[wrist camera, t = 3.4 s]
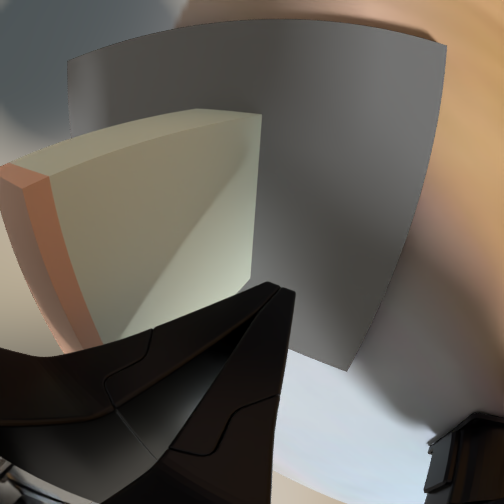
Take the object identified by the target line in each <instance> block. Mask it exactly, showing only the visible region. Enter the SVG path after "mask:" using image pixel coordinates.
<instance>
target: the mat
mask: <svg viewBox="0 0 504 504" xmlns="http://www.w3.org/2000/svg"><path fill="white" fill-rule="evenodd" d="M446 52H447V46H446V45H443V44H440V43H437V42H434V41H430V40H427V39H423V38H420V37H416V36H412V35H408V34H404V33H400V32H395V31H391V30H386V29H381V28H375V27H369V26H363V25H356V24H349V23H341V22H331V21H319V20H301V19H258V20H240V21H227V22H218V23H209V24H202V25H195V26H188V27H182V28H177V29H172V30H167V31H162V32H157V33H153V34H149V35H145V36H141V37H137V38H133V39H129V40H126V41H122V42H119V43H116V44H113V45H110V46H107V47H103V48H101V49H97V50H95V51H92V52H89V53H87V54H84V55H81V56H79V57H76V58H73V59H71V60H69V61H67V62H68V64H67V66H68V68H67V70H68V71H67V74H68V75H67V76H68V105H69V119H70V130H71V138H74V137H77V136H80V135H83V134H87V133H90V132H93V131H97V130H100V129H104V128H107V127H111V126H115V125H119V124H122V123H126V122H131V121H135V120H139V119H143V118H148V117H153V116H158V115H162V114H168V113H173V112H179V111H184V110H190V109H213V110H225V111H236V112H245V113H254V114H262V123H261V136H260V150H259V164H258V178H257V192H256V206H255V220H254V233H253V247H252V261H251V275H250V279H249V280H248V281H247V283H246V284H245V285H244V286H243V287H242V288H241V289H240V290H239V291H238V292H237V293H240V292H242V291H245V290H247V289H249V288H252V287H254V286H256V285H259V284H261V283H263V282H266V281H269V282H272V283H275V284H277V285H279V286H280V287H281V288H282V287H285V288H288V289H290V290H293V291H295V292H296V298H295V306H294V313H293V320H292V327H291V334H290V340H289V347H288V349H291V350H293V351H295V352H298V353H300V354H303V355H305V356H308V357H310V358H313V359H315V360H318V361H320V362H323V363H325V364H328V365H330V366H333V367H336V368H338V369H341V370H344V371H346V372H347V371H348V369H349V367H350V365H351V363H352V361H353V359H354V358H355V356H356V354H357V352H358V350H359V348H360V346H361V344H362V342H363V340H364V338H365V336H366V334H367V332H368V330H369V328H370V326H371V324H372V321H373V319H374V317H375V315H376V313H377V311H378V308H379V306H380V304H381V302H382V299H383V297H384V295H385V292H386V290H387V288H388V285H389V283H390V280H391V278H392V275H393V273H394V270H395V268H396V265H397V263H398V260H399V257H400V255H401V252H402V249H403V246H404V244H405V241H406V238H407V235H408V232H409V229H410V226H411V223H412V220H413V217H414V214H415V210H416V207H417V204H418V201H419V197H420V194H421V190H422V187H423V183H424V179H425V175H426V172H427V168H428V164H429V159H430V155H431V151H432V146H433V142H434V137H435V132H436V127H437V121H438V116H439V110H440V104H441V97H442V90H443V82H444V74H445V64H446ZM237 293H236V294H237Z"/></svg>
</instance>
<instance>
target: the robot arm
mask: <svg viewBox="0 0 504 504" xmlns="http://www.w3.org/2000/svg"><path fill="white" fill-rule="evenodd" d="M295 298H296V292H295V291H293V290H290V289H288V288H285V287H282V288H281V287H280V286H279V285H277V284H275V283H272V282H269V281H266V282H263V283H261V284H259V285H256V286H254V287H252V288H249V289H247V290H245V291H242V292H240V293H237V294H235V295H233V296H230V297H228V298H225V299H223V300H221V301H218V302H216V303H213V304H211V305H208V306H206V307H204V308H201V309H199V310H196V311H194V312H191V313H189V314H186V315H184V316H181V317H179V318H176V319H174V320H171V321H169V322H166V323H164V324H161V325H158V326H156V327H154V329H152V328H150V329H148V330H145V331H143V332H140V333H137V334H135V335H132V336H129V337H126V338H123V339H120V340H117V341H113V342H110V343H107V344H103V345H99V346H96V347H92V348H88V349H84V350H80V351H76V352H71V353H67V354H63V355H59V356H52V357H37V356H30V355H27V354H22V353H19V352H15V351H11V350H7V349H4V348H0V504H91V503H92V502H96V503H99V504H271V489H272V467H273V448H274V434H275V426H276V419H277V413H278V407H279V401H280V394H281V389H282V383H283V378H284V372H285V366H286V359H287V353H288V347H289V340H290V334H291V327H292V320H293V313H294V306H295ZM428 454H431V455H432V458H431V462H430V467H429V471H428V475H427V479H426V482H425V486H424V493H427V497H426V500H425V503H424V504H504V418H500V417H496V416H491V415H487V414H483V413H474V414H472V415H471V416H469V417H468V418H467V419H466V420H465V421H463V422H462V423H461V424H460V425H459V426H457V427H456V428H455V429H454V430H452V431H451V432H450V433H448V434H447V435H446V436H444V437H443V438H442V439H440V440H439V441H438V442H436V443H435V444H433V445H432V446H430V447H429V450H428Z"/></svg>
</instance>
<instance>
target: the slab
mask: <svg viewBox="0 0 504 504" xmlns="http://www.w3.org/2000/svg"><path fill="white" fill-rule="evenodd" d="M261 123H262V114H254V113H245V112H236V111H225V110H213V109H190V110H184V111H179V112H173V113H168V114H162V115H158V116H153V117H148V118H143V119H139V120H135V121H131V122H126V123H122V124H119V125H115V126H111V127H107V128H104V129H100V130H97V131H93V132H90V133H87V134H83V135H80V136H77V137H74V138H71V139H68V140H65V141H62V142H59V143H57V144H54V145H51V146H48V147H46V148H43V149H40V150H38V151H35V152H33V153H30V154H28V155H25V156H23V157H21V158H18V159H16V160H14V161H11V162H9V163H7V164H5V165H3V166H0V211H1V214H2V218H3V221H4V224H5V227H6V230H7V233H8V236H9V239H10V242H11V245H12V248H13V250H14V253H15V255H16V258H17V261H18V263H19V266H20V268H21V271H22V273H23V275H24V278H25V280H26V282H27V284H28V287H29V289H30V291H31V293H32V295H33V298H34V300H35V302H36V304H37V306H38V308H39V310H40V312H41V314H42V316H43V317H44V319H45V321H46V323H47V325H48V327H49V329H50V330H51V332H52V334H53V336H54V338H55V339H56V341H57V343H58V344H59V346H60V348H61V349H62V351H63V353H64V354H67V353H71V352H76V351H80V350H84V349H88V348H92V347H96V346H99V345H103V344H107V343H110V342H113V341H117V340H120V339H123V338H126V337H129V336H132V335H135V334H137V333H140V332H143V331H145V330H148V329H150V328H152V329H154V327H156V326H158V325H161V324H164V323H166V322H169V321H171V320H174V319H176V318H179V317H181V316H184V315H186V314H189V313H191V312H194V311H196V310H199V309H201V308H204V307H206V306H208V305H211V304H213V303H216V302H218V301H221V300H223V299H225V298H228V297H230V296H233V295H235V294H236V293H237V292H238V291H239V290H240V289H241V288H242V287H243V286H244V285H245V284H246V283H247V281H248V280H249V279H250V275H251V261H252V247H253V233H254V220H255V206H256V192H257V178H258V164H259V150H260V136H261Z"/></svg>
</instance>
